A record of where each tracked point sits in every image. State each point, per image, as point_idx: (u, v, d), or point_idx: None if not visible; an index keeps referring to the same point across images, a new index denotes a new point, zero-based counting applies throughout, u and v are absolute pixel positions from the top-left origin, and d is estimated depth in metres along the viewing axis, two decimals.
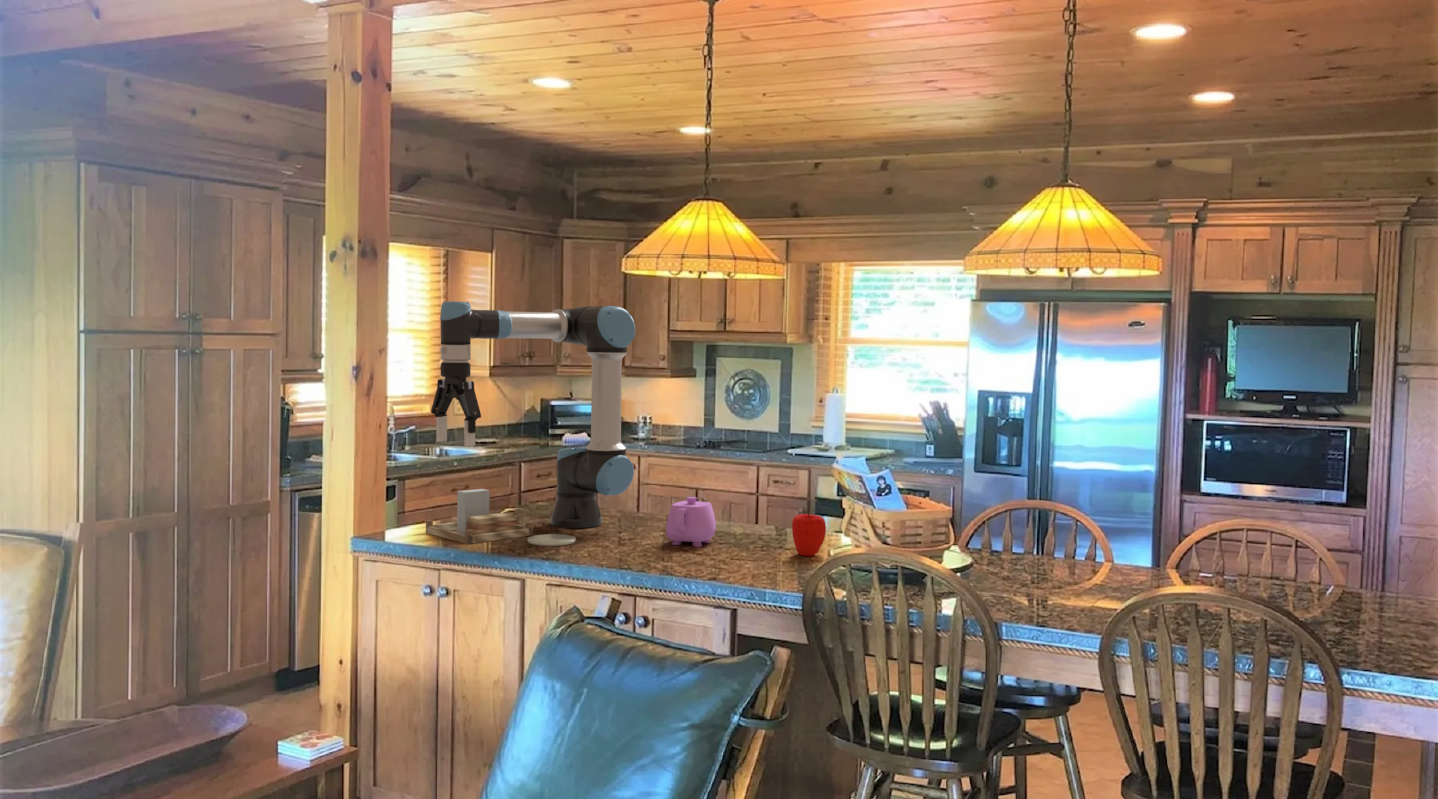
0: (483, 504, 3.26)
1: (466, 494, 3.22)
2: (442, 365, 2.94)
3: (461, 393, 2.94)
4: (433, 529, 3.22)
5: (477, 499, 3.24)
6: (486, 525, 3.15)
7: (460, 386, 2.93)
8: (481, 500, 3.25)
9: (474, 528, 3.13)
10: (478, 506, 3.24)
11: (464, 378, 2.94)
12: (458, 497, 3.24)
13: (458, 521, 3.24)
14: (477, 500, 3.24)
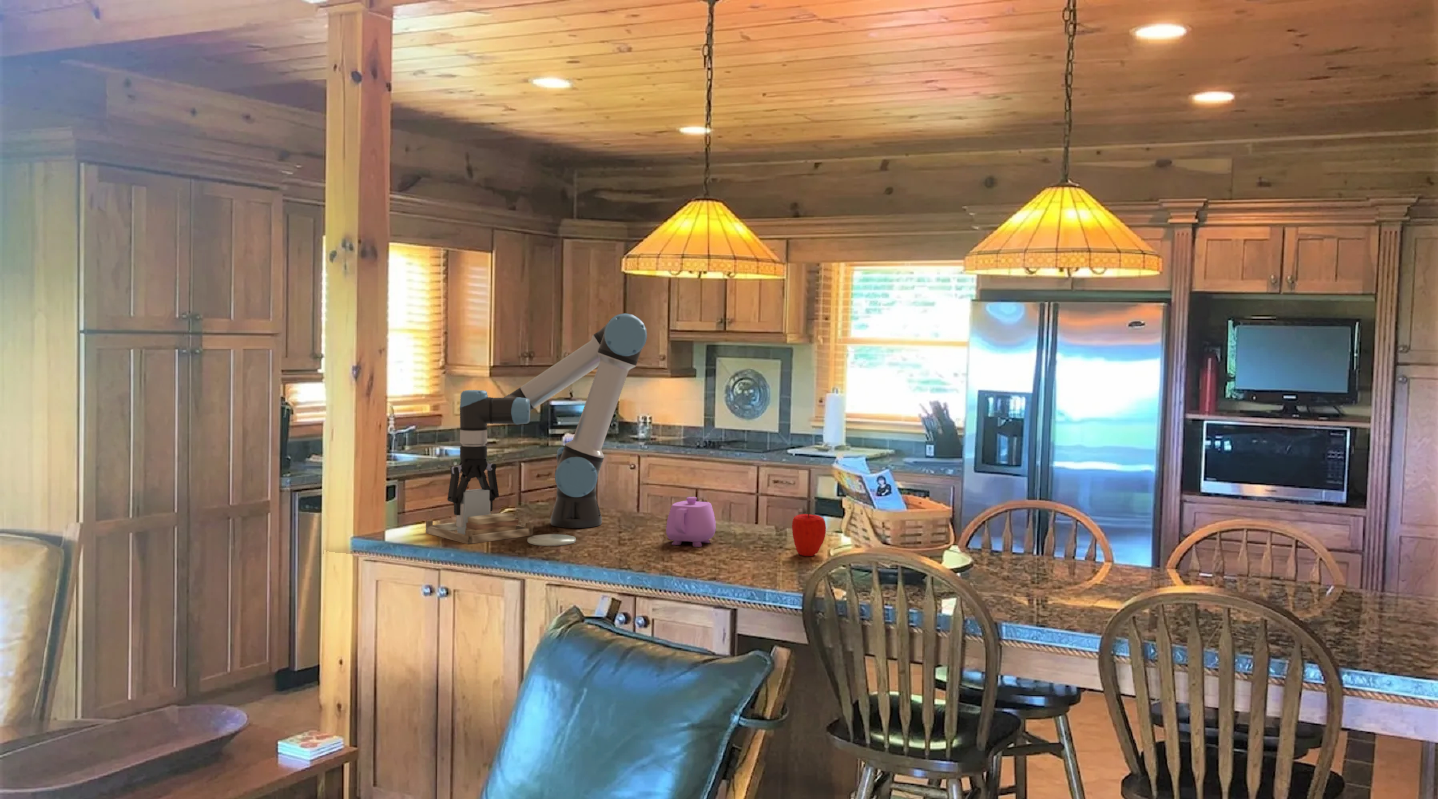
0: (483, 504, 3.26)
1: (466, 494, 3.22)
2: None
3: (464, 474, 3.23)
4: (433, 529, 3.22)
5: (477, 499, 3.24)
6: (486, 525, 3.15)
7: None
8: (481, 500, 3.25)
9: (474, 528, 3.13)
10: (478, 506, 3.24)
11: (462, 460, 3.22)
12: None
13: None
14: (476, 500, 3.24)
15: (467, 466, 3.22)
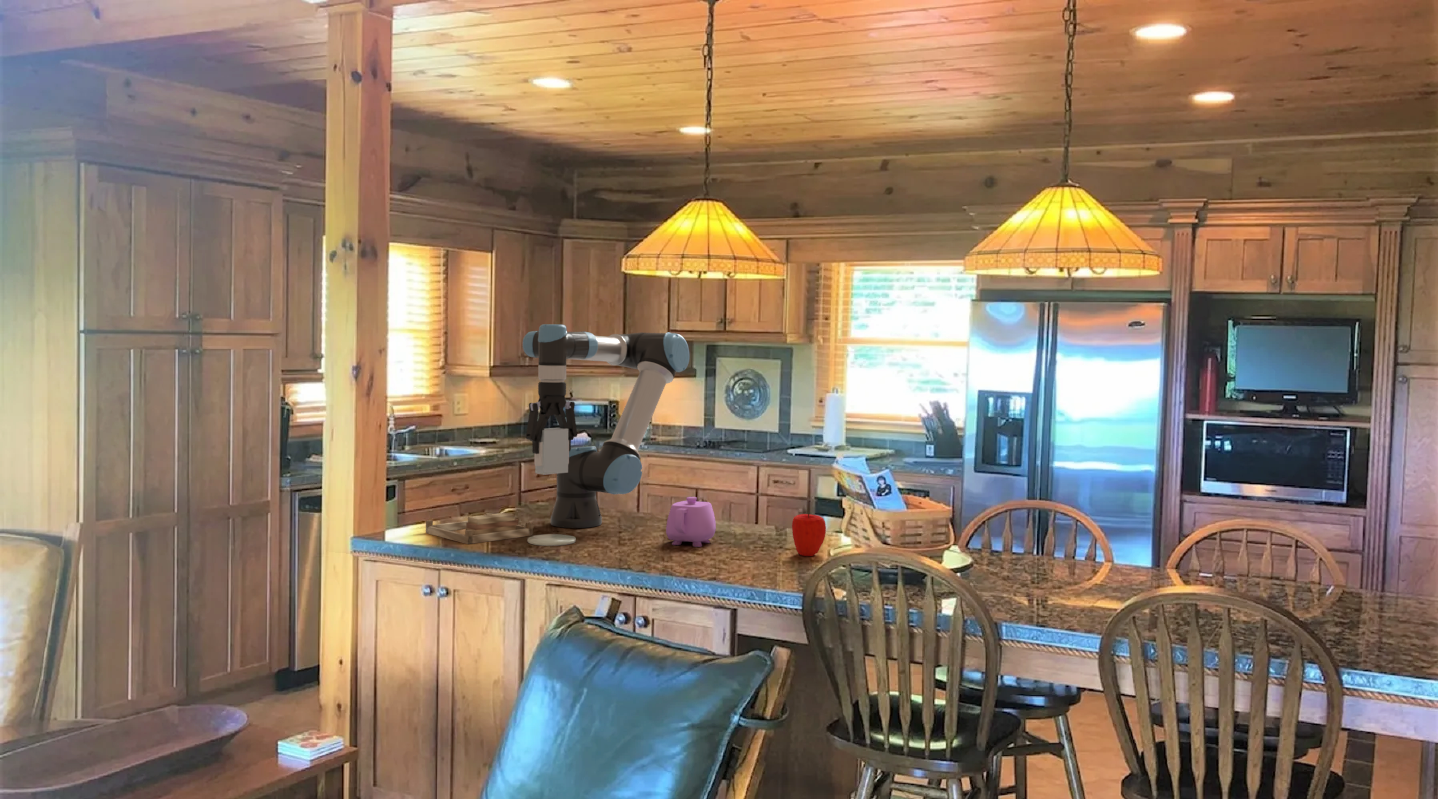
0: (562, 442, 3.13)
1: (545, 432, 3.09)
2: None
3: (543, 411, 3.10)
4: (433, 529, 3.22)
5: (556, 437, 3.12)
6: (486, 525, 3.15)
7: None
8: (560, 439, 3.12)
9: (474, 528, 3.13)
10: (557, 445, 3.12)
11: (541, 397, 3.09)
12: None
13: None
14: (555, 439, 3.11)
15: (546, 402, 3.10)
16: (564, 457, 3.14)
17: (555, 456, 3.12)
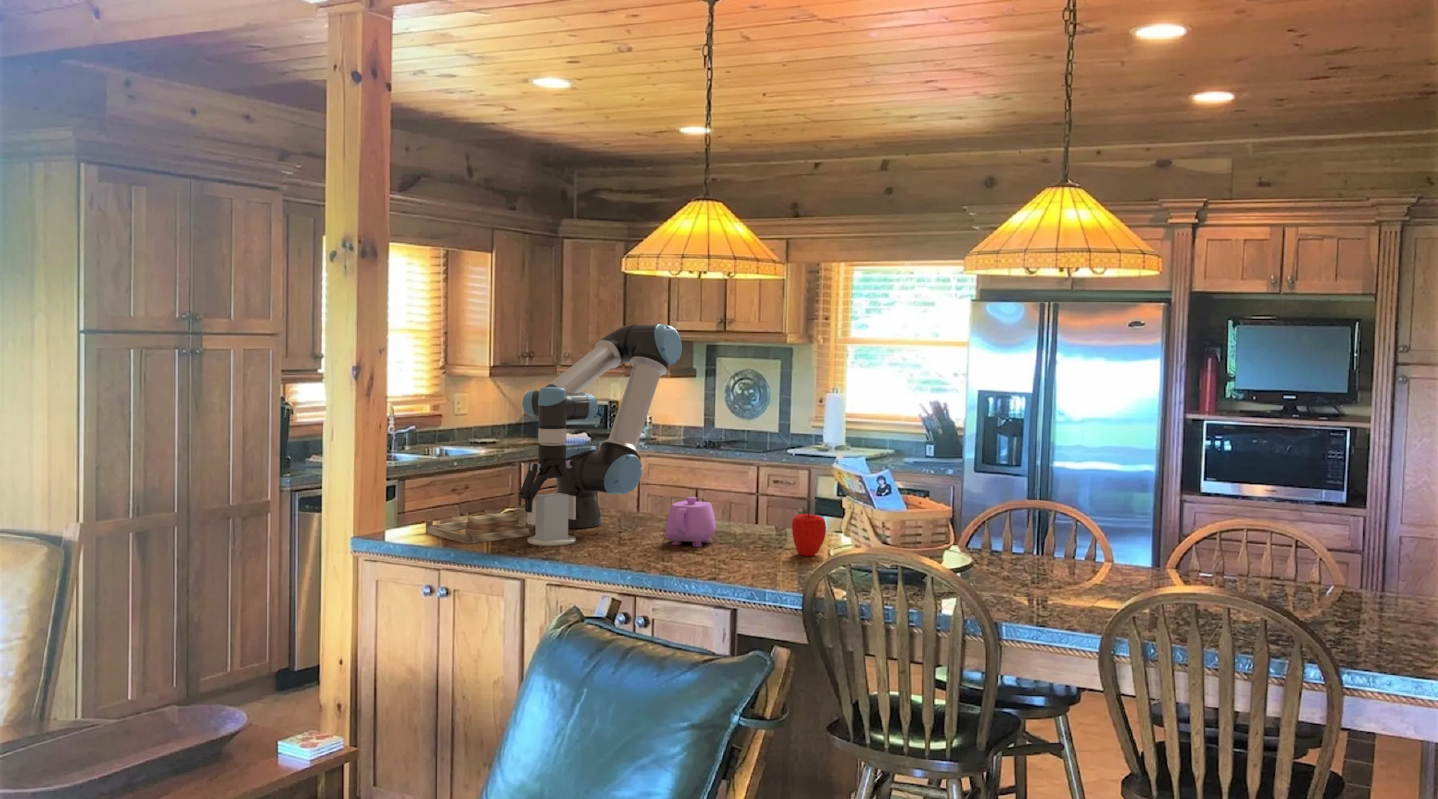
0: (562, 508, 3.14)
1: (545, 498, 3.10)
2: None
3: (543, 474, 3.11)
4: (433, 529, 3.22)
5: (557, 503, 3.13)
6: (486, 525, 3.15)
7: None
8: (560, 505, 3.14)
9: (474, 528, 3.13)
10: (557, 511, 3.13)
11: (541, 460, 3.10)
12: (536, 501, 3.12)
13: (536, 526, 3.12)
14: (556, 505, 3.12)
15: (546, 465, 3.11)
16: (564, 522, 3.15)
17: (555, 522, 3.13)
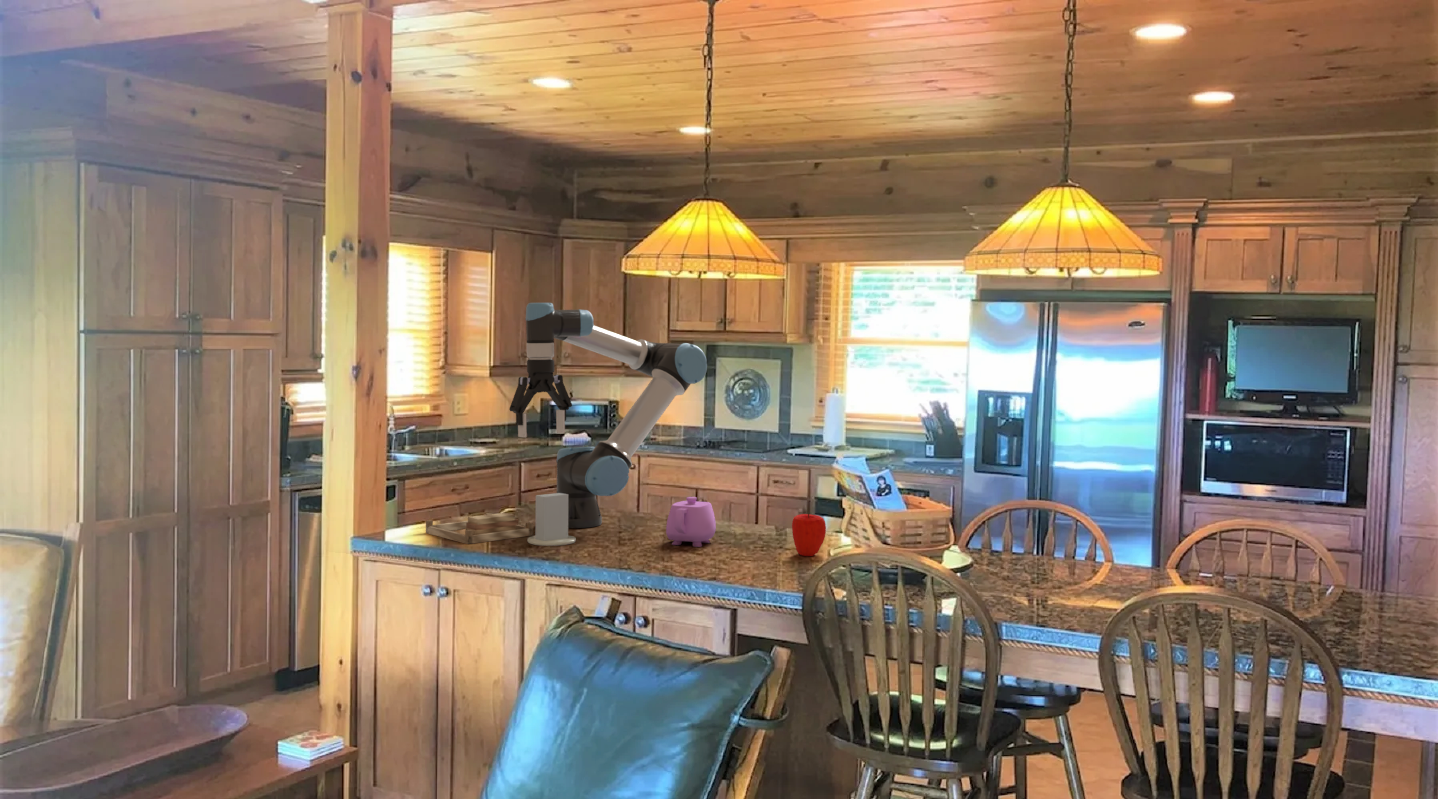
0: (562, 508, 3.14)
1: (545, 498, 3.10)
2: None
3: (533, 388, 3.16)
4: (433, 529, 3.22)
5: (557, 503, 3.13)
6: (486, 525, 3.15)
7: None
8: (560, 505, 3.14)
9: (474, 528, 3.13)
10: (557, 511, 3.13)
11: (530, 374, 3.15)
12: (536, 501, 3.12)
13: (536, 526, 3.12)
14: (556, 505, 3.12)
15: (536, 379, 3.15)
16: (564, 522, 3.15)
17: (555, 522, 3.13)
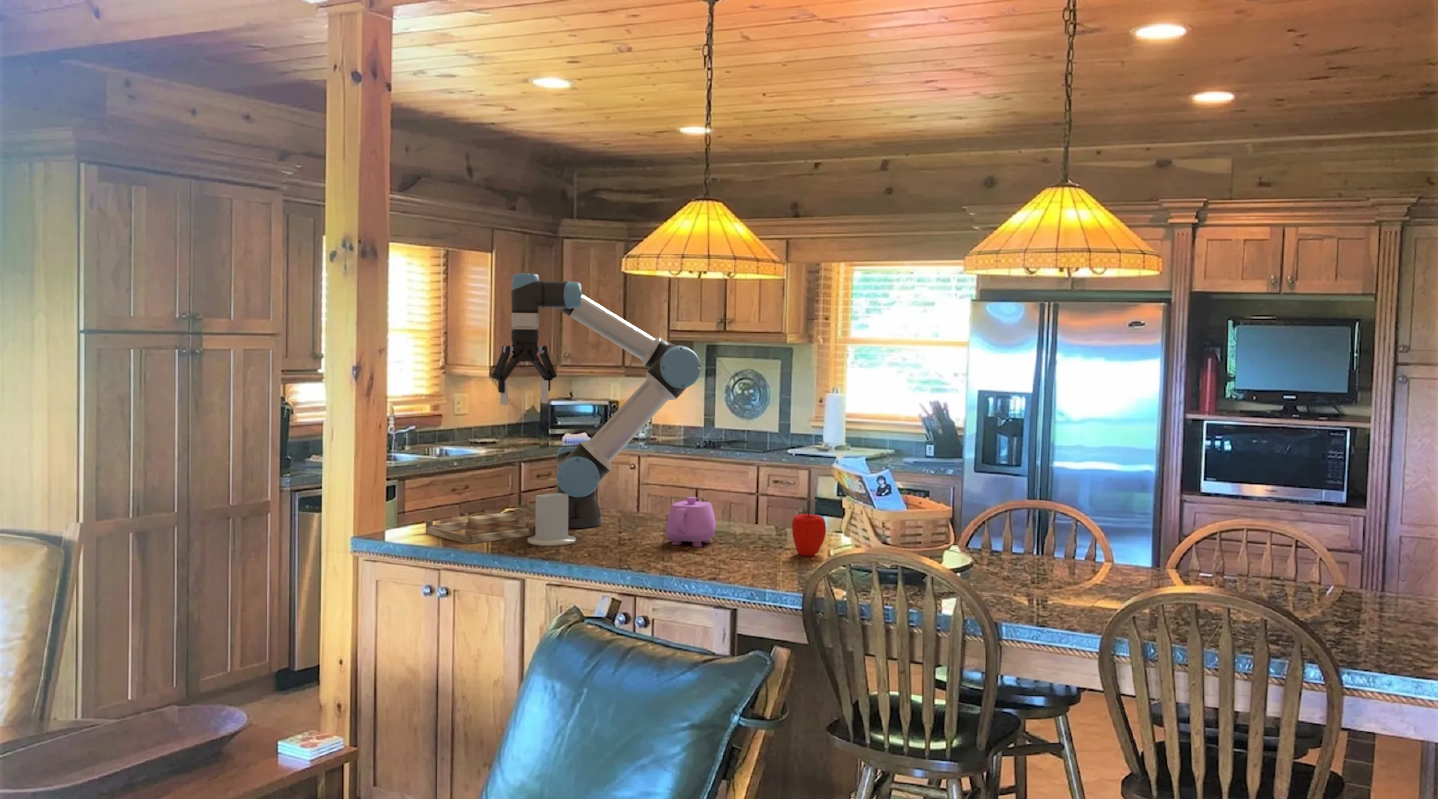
0: (562, 508, 3.14)
1: (545, 498, 3.10)
2: None
3: (516, 357, 3.22)
4: (433, 529, 3.22)
5: (557, 503, 3.13)
6: (486, 525, 3.15)
7: None
8: (560, 505, 3.14)
9: (474, 528, 3.13)
10: (557, 511, 3.13)
11: (514, 343, 3.21)
12: (536, 501, 3.12)
13: (536, 526, 3.12)
14: (556, 505, 3.12)
15: (519, 349, 3.22)
16: (564, 522, 3.15)
17: (555, 522, 3.13)
